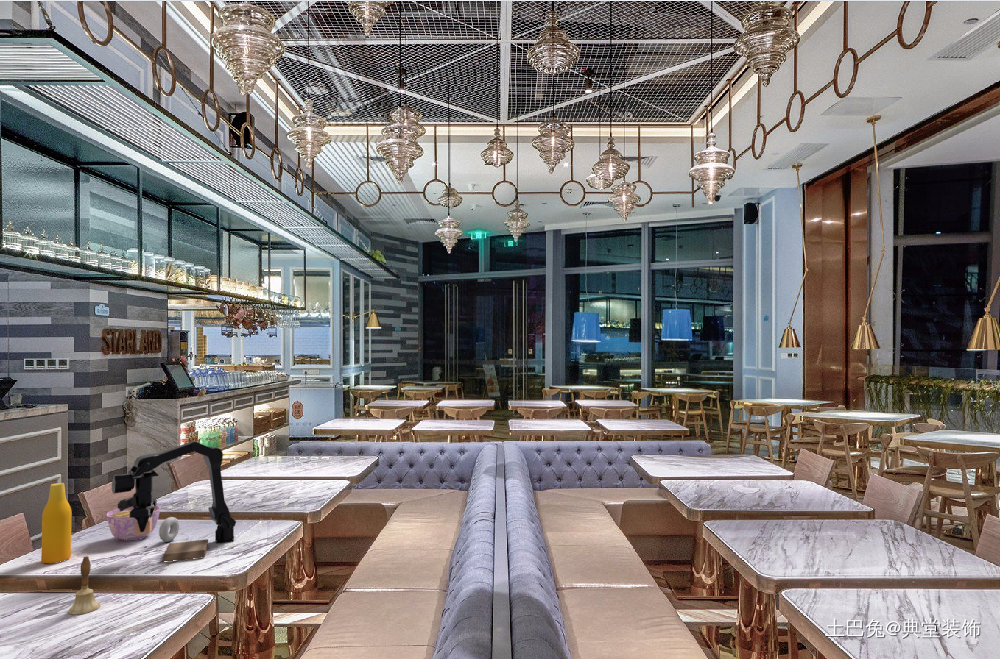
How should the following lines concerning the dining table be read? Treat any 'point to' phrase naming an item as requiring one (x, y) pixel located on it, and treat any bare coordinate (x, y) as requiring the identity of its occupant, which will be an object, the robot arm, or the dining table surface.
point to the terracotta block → (147, 528)
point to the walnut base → (186, 550)
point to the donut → (164, 529)
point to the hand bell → (84, 593)
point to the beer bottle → (56, 526)
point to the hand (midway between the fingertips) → (143, 529)
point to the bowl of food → (127, 523)
